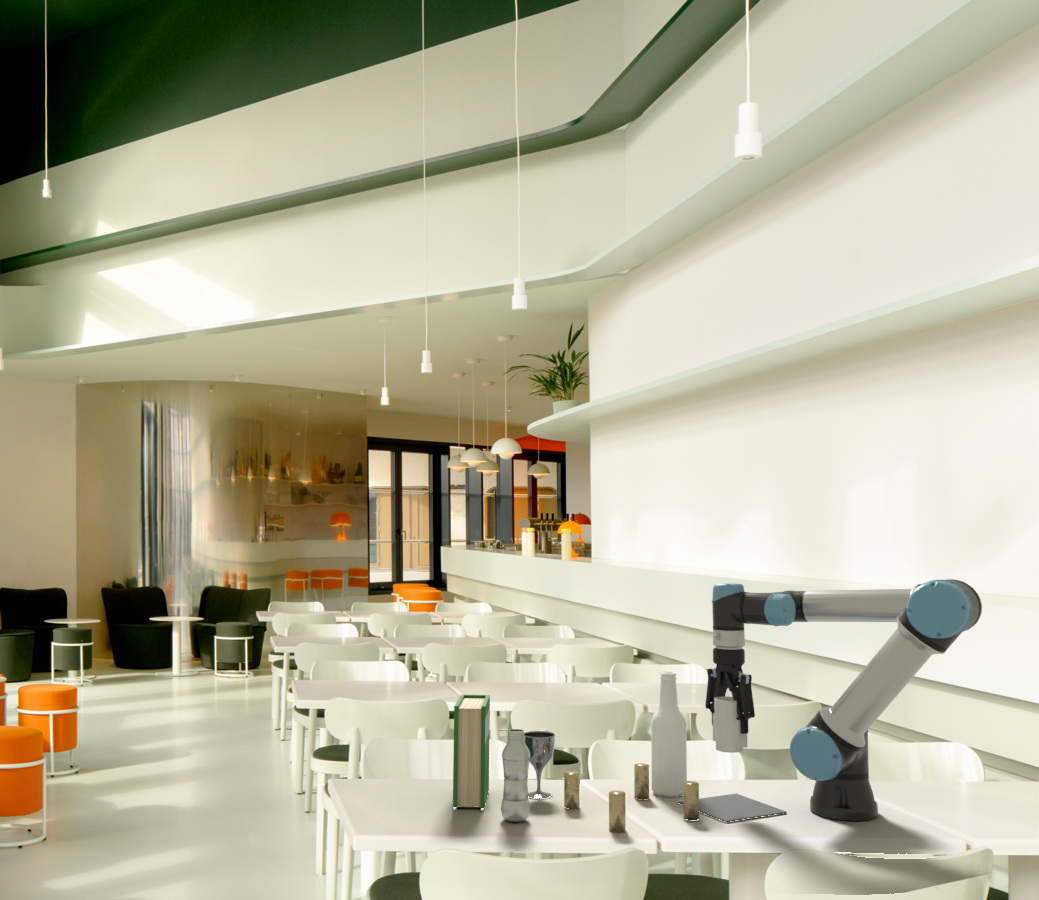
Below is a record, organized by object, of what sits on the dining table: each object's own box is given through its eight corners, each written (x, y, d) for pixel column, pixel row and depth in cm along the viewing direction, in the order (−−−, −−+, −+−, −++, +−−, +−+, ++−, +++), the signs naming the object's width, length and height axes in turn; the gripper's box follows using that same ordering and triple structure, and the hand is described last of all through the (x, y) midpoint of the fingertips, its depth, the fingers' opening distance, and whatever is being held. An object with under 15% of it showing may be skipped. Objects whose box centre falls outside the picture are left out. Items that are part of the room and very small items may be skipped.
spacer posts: (702, 820, 216) (702, 784, 217) (614, 833, 206) (614, 795, 206) (643, 795, 237) (643, 762, 238) (561, 806, 226) (561, 772, 227)
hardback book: (484, 810, 223) (485, 706, 225) (452, 810, 223) (454, 706, 225) (488, 791, 240) (489, 694, 242) (459, 791, 240) (460, 694, 243)
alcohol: (647, 795, 237) (647, 673, 240) (656, 787, 245) (655, 669, 248) (682, 799, 234) (681, 675, 237) (690, 791, 242) (689, 671, 245)
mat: (786, 813, 222) (786, 811, 222) (725, 823, 214) (725, 821, 214) (736, 795, 238) (736, 793, 238) (677, 803, 230) (677, 801, 230)
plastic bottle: (515, 815, 219) (515, 726, 221) (536, 821, 214) (536, 730, 216) (494, 820, 215) (495, 730, 217) (515, 826, 210) (516, 734, 212)
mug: (744, 753, 222) (743, 701, 224) (715, 752, 223) (714, 700, 225) (741, 744, 232) (741, 694, 233) (713, 743, 233) (713, 693, 235)
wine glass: (517, 797, 234) (518, 735, 236) (529, 790, 242) (530, 730, 243) (548, 801, 231) (548, 738, 233) (559, 793, 239) (559, 732, 240)
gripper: (689, 643, 237) (690, 737, 235) (745, 652, 219) (746, 753, 216) (713, 642, 241) (714, 734, 238) (770, 651, 222) (771, 750, 220)
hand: (729, 743), depth 227 cm, fingers closed on mug, 8 cm apart
